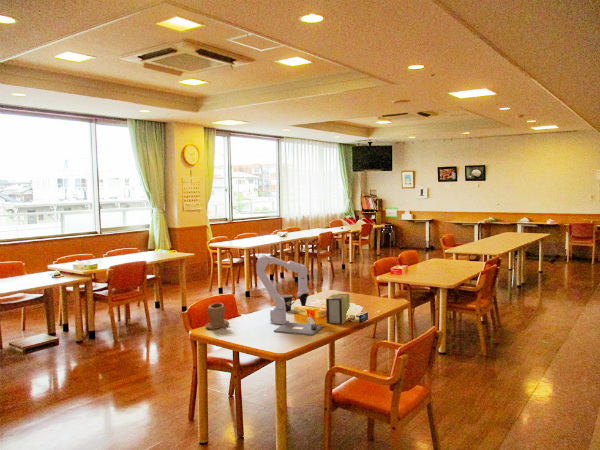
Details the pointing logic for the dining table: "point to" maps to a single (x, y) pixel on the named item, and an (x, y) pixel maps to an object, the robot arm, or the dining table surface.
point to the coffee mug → (288, 301)
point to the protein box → (337, 308)
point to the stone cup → (216, 316)
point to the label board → (297, 329)
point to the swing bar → (311, 323)
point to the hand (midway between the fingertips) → (303, 305)
